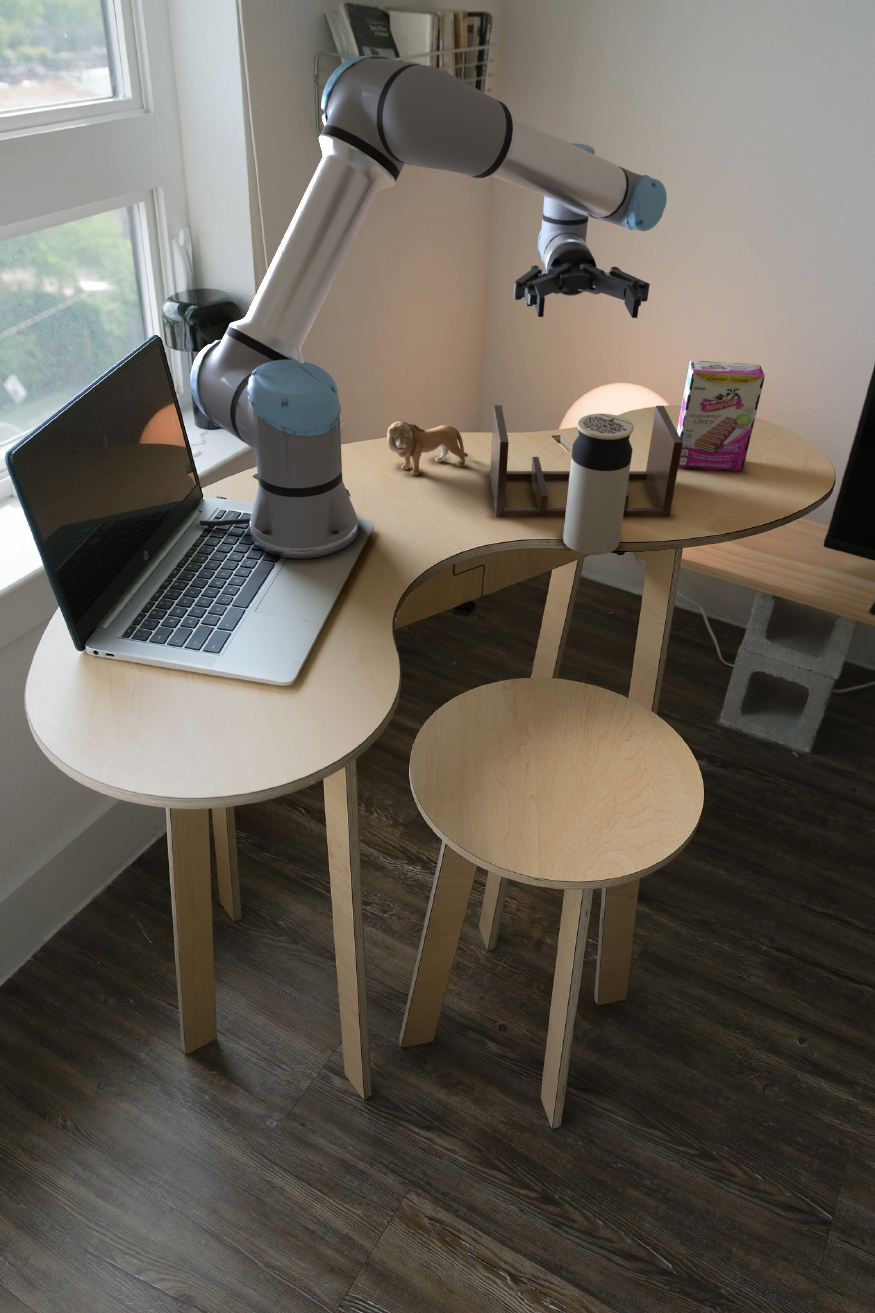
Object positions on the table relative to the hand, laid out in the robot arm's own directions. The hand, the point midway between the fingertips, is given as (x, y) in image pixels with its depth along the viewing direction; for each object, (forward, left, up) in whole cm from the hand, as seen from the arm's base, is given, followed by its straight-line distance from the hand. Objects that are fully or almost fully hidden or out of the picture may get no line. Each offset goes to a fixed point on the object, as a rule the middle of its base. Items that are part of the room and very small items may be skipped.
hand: (588, 308), depth 143 cm
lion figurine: (-23, +2, -27) cm, 35 cm away
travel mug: (0, -21, -27) cm, 34 cm away
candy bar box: (+23, +4, -27) cm, 36 cm away
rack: (0, -7, -27) cm, 27 cm away
